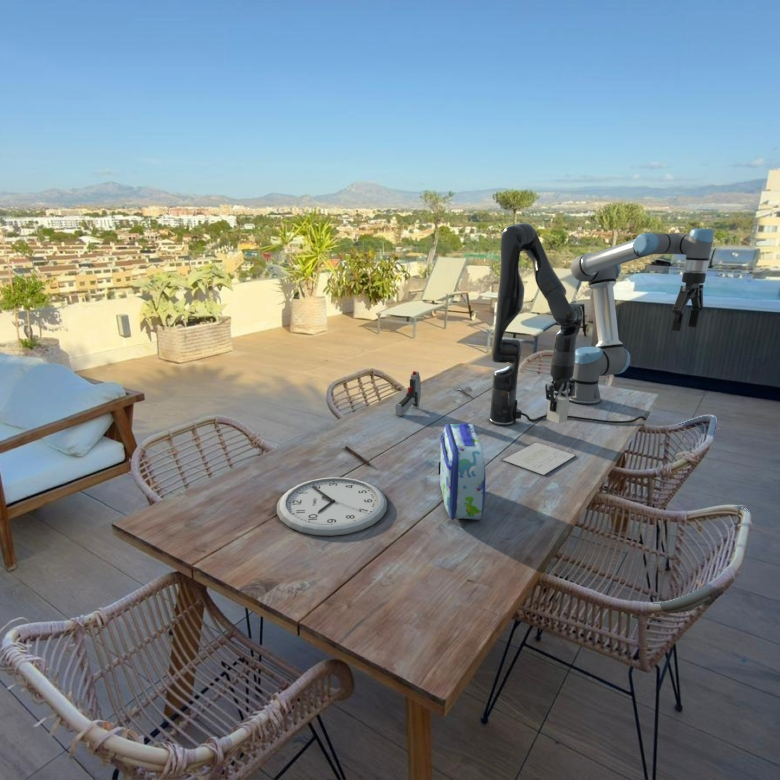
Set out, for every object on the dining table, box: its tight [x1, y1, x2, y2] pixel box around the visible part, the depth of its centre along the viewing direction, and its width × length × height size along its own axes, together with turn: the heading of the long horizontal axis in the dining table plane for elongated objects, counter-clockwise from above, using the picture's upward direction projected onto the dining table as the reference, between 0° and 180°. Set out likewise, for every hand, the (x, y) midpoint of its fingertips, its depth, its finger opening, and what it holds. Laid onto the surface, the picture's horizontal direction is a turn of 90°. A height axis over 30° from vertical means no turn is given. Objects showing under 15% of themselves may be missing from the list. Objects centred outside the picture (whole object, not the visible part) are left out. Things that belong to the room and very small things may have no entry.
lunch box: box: [438, 422, 486, 521], centre depth 142 cm, size 26×11×21 cm, turn 179°
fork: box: [453, 383, 470, 397], centre depth 242 cm, size 3×16×2 cm, turn 16°
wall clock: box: [276, 476, 388, 537], centre depth 142 cm, size 30×2×30 cm
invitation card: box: [502, 442, 577, 476], centre depth 174 cm, size 21×1×15 cm
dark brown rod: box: [344, 445, 370, 465], centre depth 173 cm, size 15×1×1 cm, turn 34°
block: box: [546, 395, 570, 425], centre depth 183 cm, size 4×5×9 cm
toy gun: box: [395, 370, 422, 417], centre depth 214 cm, size 2×16×15 cm
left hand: (557, 409), depth 183 cm, fingers closed on block, 4 cm apart
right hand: (684, 328), depth 200 cm, fingers open, 13 cm apart
